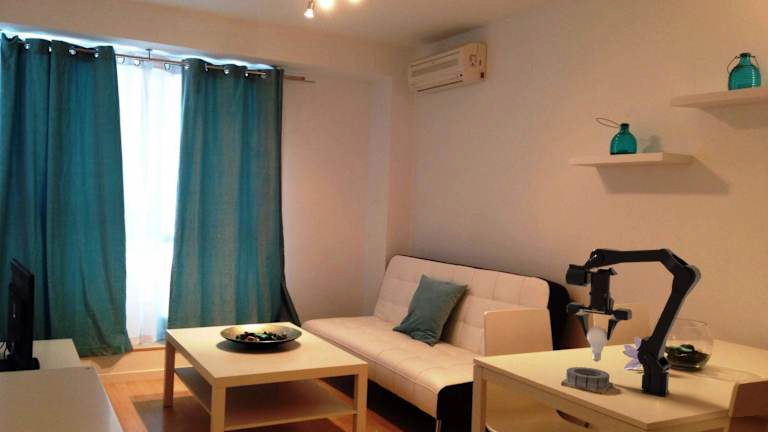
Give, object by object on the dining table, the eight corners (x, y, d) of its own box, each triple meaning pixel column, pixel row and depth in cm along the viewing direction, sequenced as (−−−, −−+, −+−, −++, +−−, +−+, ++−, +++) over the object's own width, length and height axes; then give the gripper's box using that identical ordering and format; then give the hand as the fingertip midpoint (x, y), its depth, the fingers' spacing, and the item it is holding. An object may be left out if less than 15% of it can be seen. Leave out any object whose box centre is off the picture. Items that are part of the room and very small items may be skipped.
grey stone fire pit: (613, 385, 200) (614, 372, 200) (602, 394, 190) (603, 380, 190) (573, 377, 207) (573, 364, 207) (560, 385, 197) (560, 372, 197)
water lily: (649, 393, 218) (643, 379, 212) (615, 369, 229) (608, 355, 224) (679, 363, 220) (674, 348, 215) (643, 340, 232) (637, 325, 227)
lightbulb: (604, 359, 208) (606, 324, 208) (609, 364, 202) (610, 328, 202) (583, 358, 209) (585, 323, 209) (587, 363, 203) (589, 327, 202)
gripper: (638, 289, 206) (635, 339, 206) (578, 283, 217) (576, 330, 217) (628, 293, 197) (625, 345, 197) (567, 286, 208) (564, 335, 208)
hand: (597, 338), depth 205 cm, fingers closed on lightbulb, 6 cm apart
